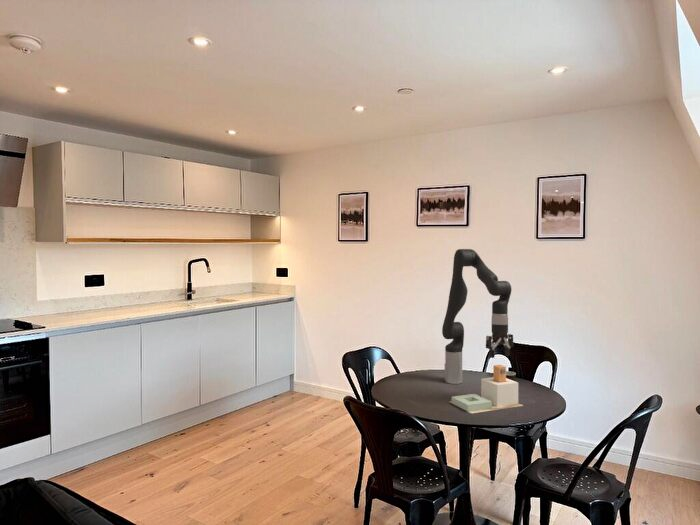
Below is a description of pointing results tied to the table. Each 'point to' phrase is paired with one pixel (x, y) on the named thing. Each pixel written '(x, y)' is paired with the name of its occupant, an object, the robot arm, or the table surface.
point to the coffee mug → (510, 375)
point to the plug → (499, 373)
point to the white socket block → (500, 392)
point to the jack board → (494, 408)
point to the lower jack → (471, 402)
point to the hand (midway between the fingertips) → (499, 356)
